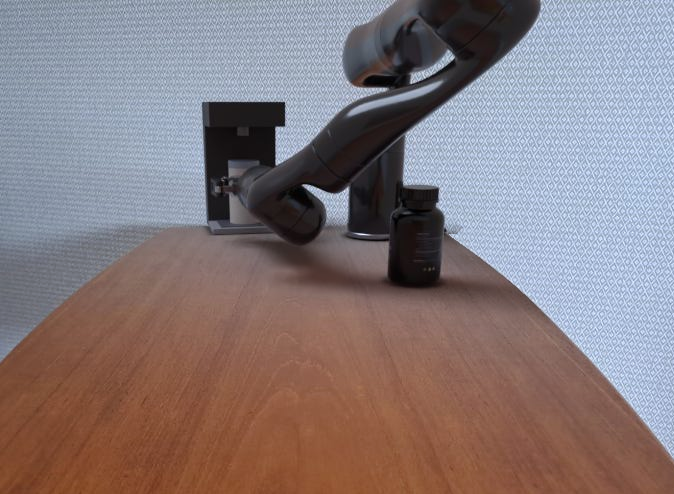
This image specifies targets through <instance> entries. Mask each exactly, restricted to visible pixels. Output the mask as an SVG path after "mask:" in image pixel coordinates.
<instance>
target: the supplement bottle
mask: <svg viewBox="0 0 674 494" xmlns="http://www.w3.org/2000/svg"><path fill="white" fill-rule="evenodd" d="M439 197H440V187H439V186H436V185H430V184H403V186H401V187H400V197H399V202H401V206H399V207H398V208H396V209H395V210H394V211H393V212H392V214H391V218H390V233H389V239H388V254H387V270H386V271H387V274H386V277H387V279H388V280H389V282H390V283H393V284H395V285H399V286H405V287H416V288H417V287H429V286H433V285H436V284H437V283H438V282H439V281H440V279H441V271H442V260H443V259H442V258H443V247H444V236H445V232H444V228H445V223H446V216H445V214H444V211H442V210H441V209H440V207H437V204H438V203H440V198H439Z"/></svg>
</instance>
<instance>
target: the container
mask: <svg viewBox="0 0 674 494" xmlns="http://www.w3.org/2000/svg"><path fill="white" fill-rule="evenodd" d="M257 165H259V160H253V159H236V160H228V167H229V178H230V176H234V175H240V176H242V174H243V173H244V172H245V171H246V170H247V169H249V168H251V167H253V166H257ZM229 186H230V182H229ZM229 199H230V223H233V224H256V223H259V221H258V220H256V219H255V218H254V217H253V216H252V215H251V214H250V213H249V211H248V210H247V209H246V208H245V207H244V206H243V205H242V204H241V202H240V200H239V198H236V197H231V195H230V194H229Z"/></svg>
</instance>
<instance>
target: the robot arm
mask: <svg viewBox="0 0 674 494" xmlns="http://www.w3.org/2000/svg"><path fill="white" fill-rule="evenodd" d="M541 9H542V1H541V0H395V1H394V2H393V3H391V4H390V5H389V6H388V7H387V8H386V9H385V10H384V11H383V12H381V13H380V14H378V15H377V16H375V17H374V18H373V19H371V20H370V21H368V22H365V23H364V24H363V23H362V24H360V25H356V26H355V27H353V28H352V29H351V30H350V32H349V33H348V34H347V37H346V40H345V42H344V45H343V48H342V49H343V50H342V55H341V64H342V71H343V74H344V77H345V79H346V80H347V82H348V83H349V85H351V86H353V87H356V88H359V89H360V88H361V89H386V90H385V91H380V92H377V93H374V94H370V95H367V96H363V97H362V98H358V99H357V100H354V101H352V102H350V103H349V104H346V106H344V107H343V108H342V109H341V110H339V111H338V112H337V113H336V114H335V115H334V116H333V117H332V118H331V119H330V120H329V122H327V123H326V124H325V126H324V127H323V128H322V129H321V130H320V131H319V132H318V133H317V135H316V136H314V138H313V139H312V140H311V141H310V142H309V143H308V144H307V145H305V146H304V147H303V148H302V149H300V150H299V151H298V152H296V153H295V154H293V155H292V156H290V157H288V158H287V159H285V160H284V161H282V162H280V163H278V164H276V166H275V167H273V168H271V167H269V166H265V165H257V166H253V167H251V168H249V169H247V170H246V171H245V172H244V173H243V174H242V176H240V175H234V176H230V178H229V177H228V176H223V177H222V178H221V179H219V178H216V177H213V178H211V193H212V194H213V195H214V196H216V197H218V198H222V197H224V196H225V194H227V193H228V194H230V195H231V197H236V198H239V200H240V202H241V204H242V205H243V206H244V207H245V208H246V209H247V210H248V211H249V213H250V214H251V215H252V216H253V217H254V218H255V219H256V220H258V221H259V222H260V223H262V224H263V225H265V226H266V227H267V228H268V229H270V230H271V231H272V232H271V233H273V234H274V235H276V236H277V237H279V238H280V239H281V240H283V241H284V242H286V243H287V244H288V245H290V246H293V247H303V246H307V245H308V244H311V243H313V242H314V241H315V240H316V239H318V237H320V235H321V234H322V233H323V231H324V228H325V226H326V223H327V216H328V215H327V214H328V213H327V208H326V206H325V204H324V203H323V201H322V200H321V199H320V198H318V196H316V195H315V194H314V193H313V192H312V191H310V190H309V189H308V188H306V186H304V185H307V186H311V187H314V188H316V189H318V190H320V191H323V192H325V193H327V194H332V195H336V194H337V195H338V194H340V193H343V192H344V191H345V190H346V189H347V188H348V191H347V195H348V197H347V223H346V226H347V228H346V236H348V237H349V238H353V239H354V238H355V239H359V240H372V241H373V240H375V241H377V240H379V241H380V240H383V241H384V240H389V233H390V218H391V214H392V212H393V211H394V210H395V209H396V208H398V207H399V206H401V202H399V197H400V187H401V186H404V174H405V173H404V172H405V156H406V155H405V154H406V139H407V134H408V133H409V132H410V131H412V130H413V129H414V128H416V127H417V126H419V125H420V124H421V123H422V122H424V121H425V120H426V119H428V118H430V117H431V116H432V115H433V114H434V113H436V112H437V111H439V110H440V109H441V108H442V107H444V106H445V105H446V104H448V103H449V102H451V100H453V99H454V98H456V96H458V95H459V94H460V93H462V92H463V91H465V90H466V89H468V87H469V86H471V85H472V84H474V83H475V82H476V81H477V80H479V79H480V78H481V77H483V76H484V75H485V74H486V73H487V72H489V71H490V70H492V69H493V68H494V67H495V66H496V65H497V64H499V63H500V62H501V61H502V60H503V59H504V58H506V56H507V55H508V54H510V53H511V52H512V51H514V49H515V48H516V47H517V46H518V45H519V44H520V43H521V42H522V41H523V40H524V39H525V37H526V36H527V35H528V34H529V32H530V31H531V30H532V28H533V27H534V25H535V24H536V22H537V21H538V18H539V16H540V13H541V11H542V10H541ZM448 52H450V53H451V54H452V56H454V58H453V59H452V60H451V61H450V62H448V63H447V64H446V65H444V66H443V67H442V68H441V69H438V70H437V71H436V72H435V73H432V74H430V75H429V76H427V77H425V78H423V79H421V80H418V81H414V82H413V83H412V75H414V74H418V73H420V72H421V73H422V72H424V71H426V70H428V69H431V68H432V67H434V66H435V65H437V64H438V63H439V62H441V61H442V59H443V58H444V57H445V56H446V55H447V53H448ZM229 182H230V186H229ZM446 232H447V228H446V227H444V233H446Z"/></svg>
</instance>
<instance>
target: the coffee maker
mask: <svg viewBox="0 0 674 494" xmlns="http://www.w3.org/2000/svg"><path fill="white" fill-rule="evenodd" d="M201 115H202V116H201V117H202V140H203V141H202V142H203V163H204V165H203V166H204V188H205V189H204V190H205V191H204V192H205V211H206V212H205V213H206V216H205V217H206V224H207V225H208V228H209V229H210V230H211V232H212V234H213V235H235V234H238V235H239V234H240V235H241V234H265V233H266V234H269V233H273V232H272V231H271V230H270V229H268V228H267V227H266V226H265V225H263V224H262V223H260V222H259V223H256V224H233V223H230V199H229V194H228V193H227V194H225V196H224V197H222V198H218V197H216V196H214V195H213V194H212V193H211V178H213V177H216V178H219V179H221V178H222V177H223V176H228V177H229V167H228V160H236V159H253V160H259V165H265V166H269V167H271V168H273V167H275V166H277V157H276V155H277V152H276V151H277V150H276V149H277V148H276V147H277V146H276V145H277V144H276V143H277V142H276V140H277V139H276V136H277V134H276V133H277V132H276V128H280V127H281V128H285V127H286V101H201Z"/></svg>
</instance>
